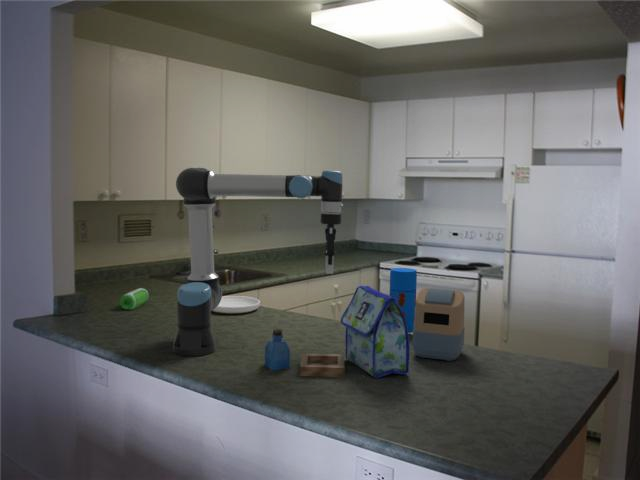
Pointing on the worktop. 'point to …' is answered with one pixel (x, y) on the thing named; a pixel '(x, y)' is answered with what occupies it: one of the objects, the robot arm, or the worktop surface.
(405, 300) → the thermos
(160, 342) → the worktop surface
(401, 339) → the lunch bag
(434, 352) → the alarm clock
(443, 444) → the worktop surface
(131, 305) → the speaker
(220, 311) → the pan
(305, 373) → the wooden picture frame
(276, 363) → the perfume bottle
